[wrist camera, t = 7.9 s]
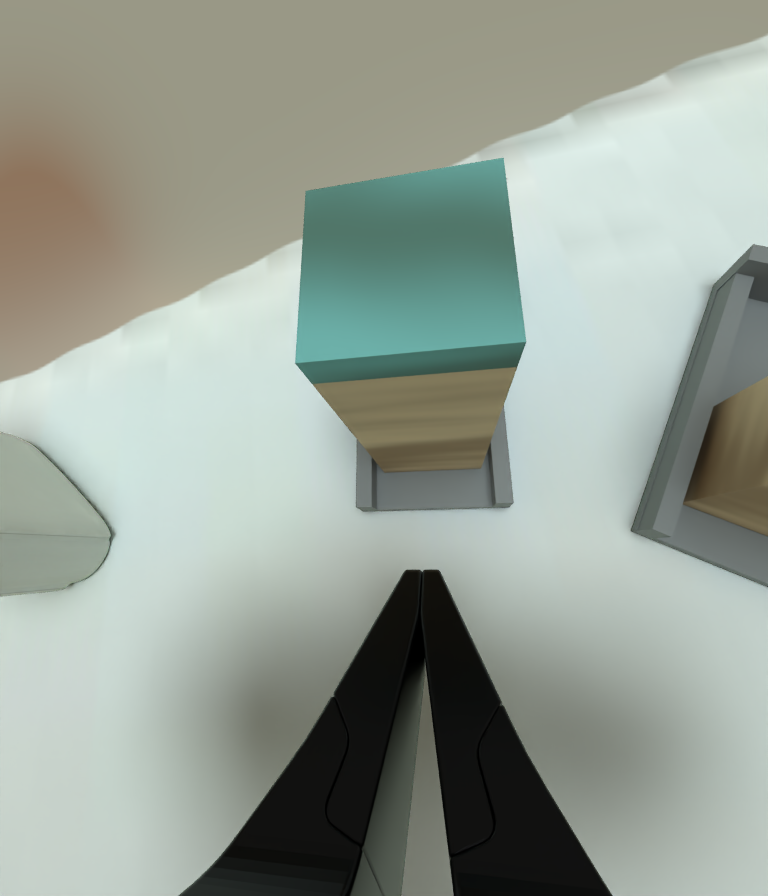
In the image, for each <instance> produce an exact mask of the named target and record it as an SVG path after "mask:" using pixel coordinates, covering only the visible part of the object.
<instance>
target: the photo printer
mask: <svg viewBox="0 0 768 896" xmlns="http://www.w3.org/2000/svg"><path fill="white" fill-rule="evenodd" d="M110 536H111V534H110V531H109V529H108V527H107V525H106V524H105V522H104V521H103V519H102V518H101V517H100V515H99V514H98V513H97V512H96V511H95V510H94V508H93V507H92V506H91V505H90V504H89V502H88V501H87V500H86V499H85V498H84V497H83V496H82V494H81V493H80V492H79V491H78V490H77V489H76V488H75V487H74V486H73V484H72V483H71V482H70V481H69V480H68V479H67V478H66V477H65V476H64V475H63V474H62V473H61V472H60V471H59V470H58V469H57V468H56V467H55V466H54V465H53V464H52V463H51V462H50V461H49V460H48V459H47V458H46V457H45V456H44V455H43V454H42V453H41V452H40V451H39V450H38V449H37V448H36V447H34V446H33V445H32V444H30V443H28V442H27V441H25V440H23V439H21V438H18V437H16V436H13V435H10V434H6V433H3V432H0V597H1V596H11V595H22V594H32V593H42V592H51V591H58V590H62V589H65V588H66V587H67V586H68V585H69V584H70V583H75V582H79V581H81V580H84V579H85V578H87V577H88V576H90V575H91V574H92V573H93V572H95V570H96V569H97V568H98V567H99V566H100V565H101V563H102V562H103V560H104V558H105V557H106V555H107V552H108V550H109V546H110V541H109V538H110Z"/></svg>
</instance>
